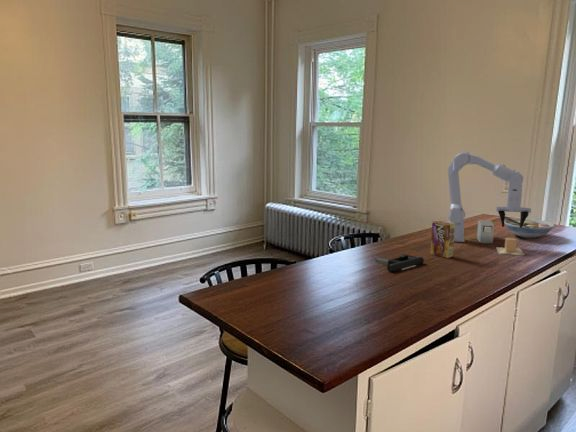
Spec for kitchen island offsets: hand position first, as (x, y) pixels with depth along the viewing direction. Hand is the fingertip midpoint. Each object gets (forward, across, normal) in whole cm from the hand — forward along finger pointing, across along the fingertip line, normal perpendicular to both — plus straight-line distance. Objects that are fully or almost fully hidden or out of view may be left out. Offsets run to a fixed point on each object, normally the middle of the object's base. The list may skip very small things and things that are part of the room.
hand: (511, 226), depth 205 cm
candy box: (+10, -32, -24) cm, 41 cm away
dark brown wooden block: (+9, -10, +9) cm, 16 cm away
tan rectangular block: (+9, -2, -11) cm, 14 cm away
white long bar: (+3, -10, +10) cm, 15 cm away
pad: (+9, -2, -11) cm, 15 cm away
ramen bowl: (+10, +12, +22) cm, 27 cm away
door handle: (+10, -51, -42) cm, 67 cm away
